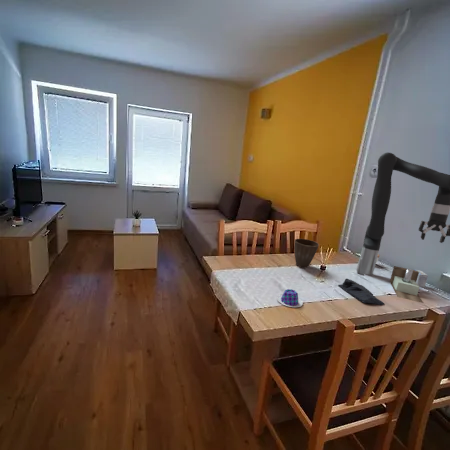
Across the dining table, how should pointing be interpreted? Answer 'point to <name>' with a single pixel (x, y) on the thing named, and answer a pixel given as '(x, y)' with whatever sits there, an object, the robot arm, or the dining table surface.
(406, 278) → the steel peg
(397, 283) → the sliding block
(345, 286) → the dark folded cloth
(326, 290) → the dining table surface
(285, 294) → the checked sun hat
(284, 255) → the dining table surface
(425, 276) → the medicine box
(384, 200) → the robot arm
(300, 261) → the plant pot
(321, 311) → the dining table surface
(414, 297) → the track and wall
